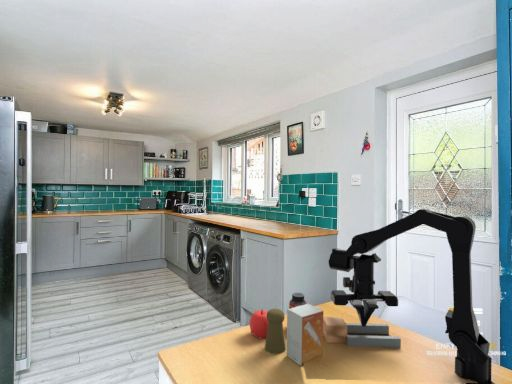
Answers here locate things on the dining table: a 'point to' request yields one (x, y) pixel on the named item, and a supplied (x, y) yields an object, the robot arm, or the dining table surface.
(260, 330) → the apple
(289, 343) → the small box
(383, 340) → the chute
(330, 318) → the block
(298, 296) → the supplement bottle
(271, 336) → the olive pepper mill
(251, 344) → the dining table surface
